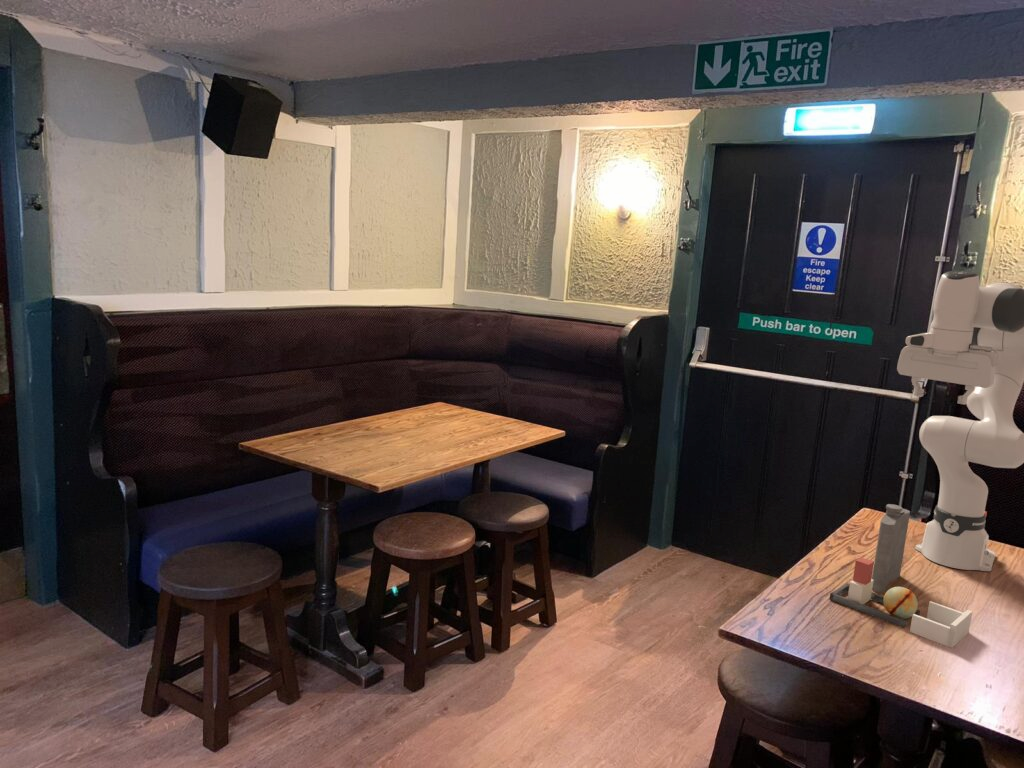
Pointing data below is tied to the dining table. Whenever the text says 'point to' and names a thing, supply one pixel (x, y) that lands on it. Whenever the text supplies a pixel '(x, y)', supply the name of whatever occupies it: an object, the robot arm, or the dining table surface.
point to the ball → (900, 602)
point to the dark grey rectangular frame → (866, 609)
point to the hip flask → (890, 546)
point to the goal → (942, 624)
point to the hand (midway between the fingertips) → (939, 399)
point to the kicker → (861, 581)
